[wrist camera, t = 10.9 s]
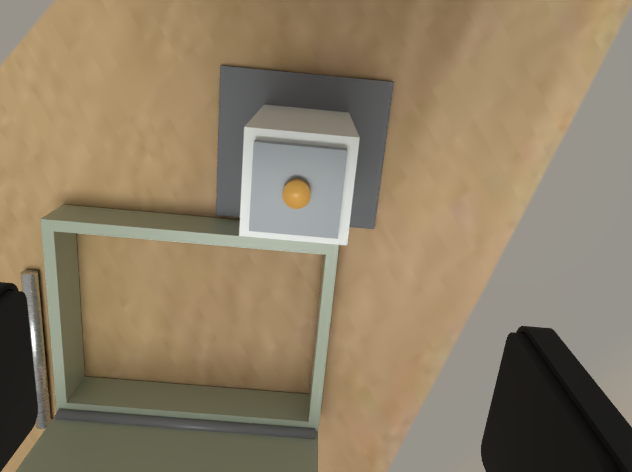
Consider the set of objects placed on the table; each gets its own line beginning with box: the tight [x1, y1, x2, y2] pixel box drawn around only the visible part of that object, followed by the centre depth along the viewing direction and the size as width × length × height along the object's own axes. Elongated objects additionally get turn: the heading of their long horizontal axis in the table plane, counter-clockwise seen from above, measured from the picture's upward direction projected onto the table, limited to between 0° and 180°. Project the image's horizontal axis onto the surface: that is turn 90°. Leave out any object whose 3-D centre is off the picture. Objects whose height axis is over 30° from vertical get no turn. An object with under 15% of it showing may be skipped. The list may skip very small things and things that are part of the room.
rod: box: [21, 270, 51, 429], centre depth 37 cm, size 12×1×1 cm, turn 175°
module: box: [239, 105, 360, 245], centre depth 28 cm, size 5×5×10 cm
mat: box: [216, 66, 394, 229], centre depth 33 cm, size 9×10×1 cm
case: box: [16, 205, 339, 472], centre depth 30 cm, size 15×17×14 cm
